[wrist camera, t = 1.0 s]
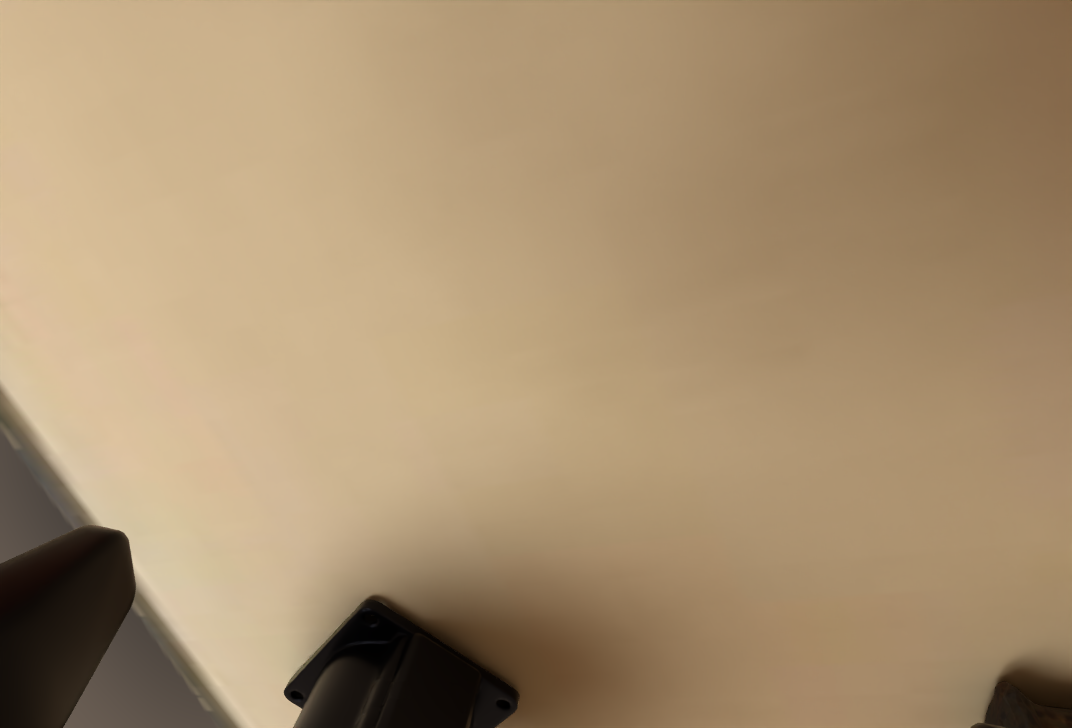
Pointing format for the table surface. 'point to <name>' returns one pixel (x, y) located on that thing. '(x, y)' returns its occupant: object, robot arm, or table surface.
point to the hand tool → (1023, 711)
